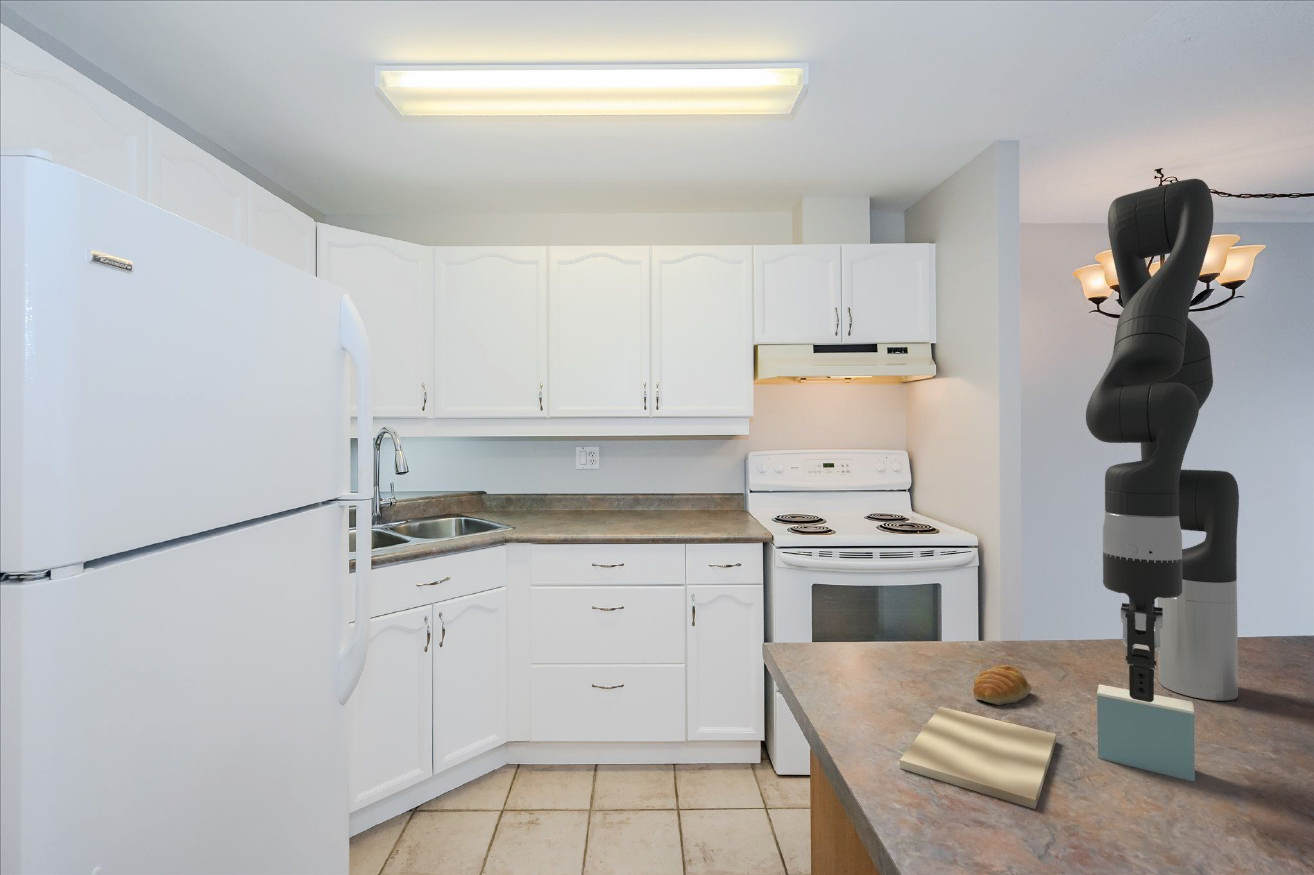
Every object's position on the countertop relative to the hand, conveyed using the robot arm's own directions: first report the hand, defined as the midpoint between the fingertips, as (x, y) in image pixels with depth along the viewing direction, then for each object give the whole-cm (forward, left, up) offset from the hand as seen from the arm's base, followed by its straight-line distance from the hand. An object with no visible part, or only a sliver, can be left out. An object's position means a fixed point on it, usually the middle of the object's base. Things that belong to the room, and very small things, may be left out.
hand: (1142, 688), depth 76 cm
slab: (0, 0, -9) cm, 9 cm away
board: (+9, -16, -9) cm, 20 cm away
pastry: (-12, -17, -10) cm, 23 cm away
